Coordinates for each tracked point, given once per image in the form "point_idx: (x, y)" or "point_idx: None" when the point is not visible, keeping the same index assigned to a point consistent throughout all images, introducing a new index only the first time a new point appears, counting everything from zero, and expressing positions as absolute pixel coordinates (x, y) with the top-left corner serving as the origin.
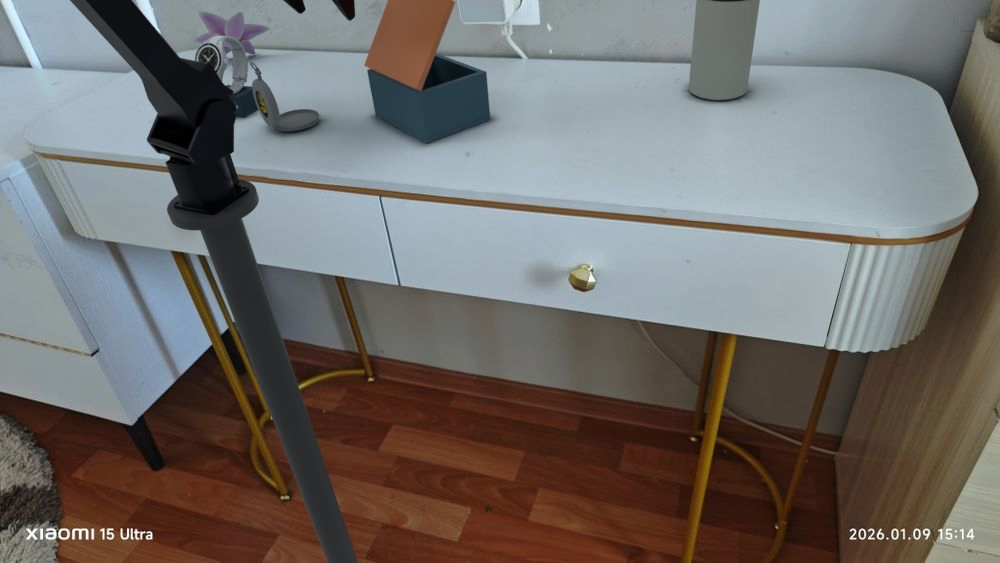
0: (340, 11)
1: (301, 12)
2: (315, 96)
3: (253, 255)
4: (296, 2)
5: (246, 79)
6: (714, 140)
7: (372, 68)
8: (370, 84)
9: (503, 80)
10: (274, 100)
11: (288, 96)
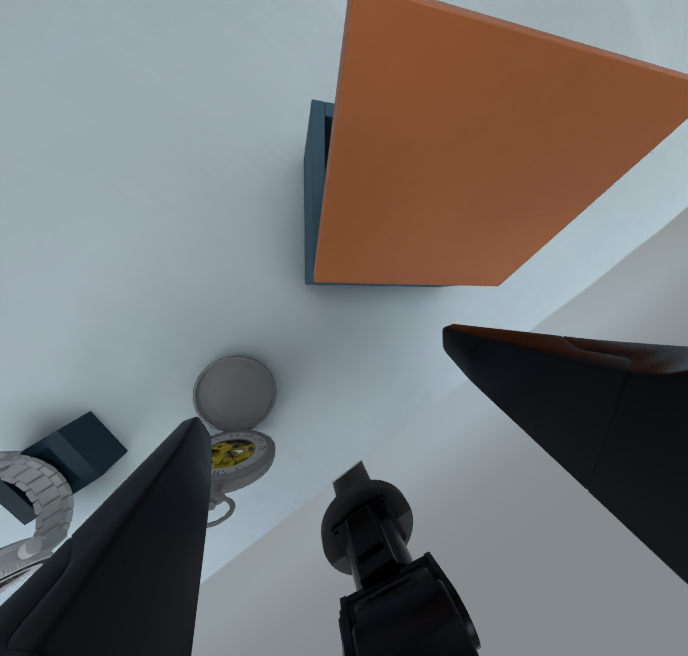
0: (477, 385)
1: (207, 435)
2: (116, 313)
3: (358, 462)
4: (199, 475)
5: (17, 453)
6: (653, 61)
7: (350, 282)
8: (313, 280)
9: (332, 22)
10: (272, 457)
11: (67, 353)
